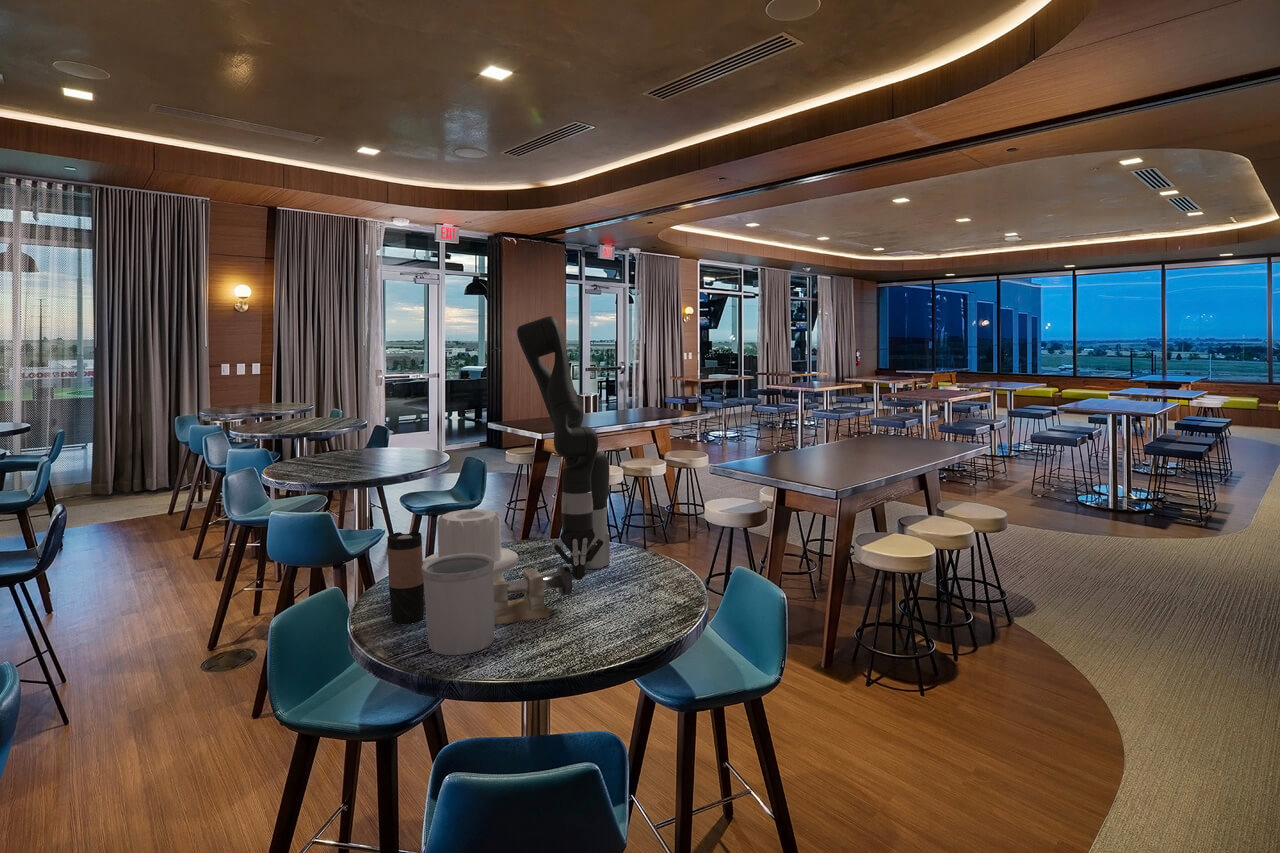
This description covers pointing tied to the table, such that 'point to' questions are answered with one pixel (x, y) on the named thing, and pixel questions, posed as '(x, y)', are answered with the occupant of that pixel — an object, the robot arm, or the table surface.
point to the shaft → (546, 583)
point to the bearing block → (520, 608)
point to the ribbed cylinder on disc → (473, 537)
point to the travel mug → (406, 577)
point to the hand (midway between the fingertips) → (578, 579)
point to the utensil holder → (459, 603)
